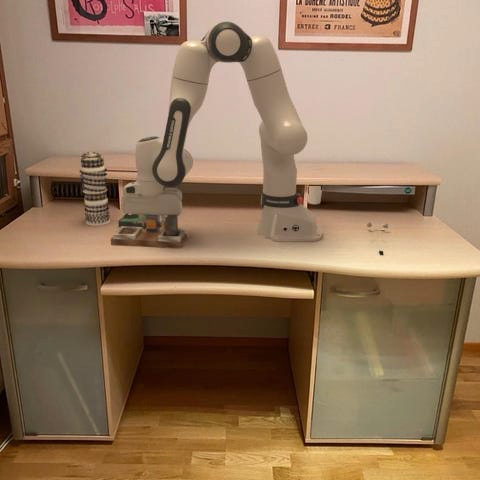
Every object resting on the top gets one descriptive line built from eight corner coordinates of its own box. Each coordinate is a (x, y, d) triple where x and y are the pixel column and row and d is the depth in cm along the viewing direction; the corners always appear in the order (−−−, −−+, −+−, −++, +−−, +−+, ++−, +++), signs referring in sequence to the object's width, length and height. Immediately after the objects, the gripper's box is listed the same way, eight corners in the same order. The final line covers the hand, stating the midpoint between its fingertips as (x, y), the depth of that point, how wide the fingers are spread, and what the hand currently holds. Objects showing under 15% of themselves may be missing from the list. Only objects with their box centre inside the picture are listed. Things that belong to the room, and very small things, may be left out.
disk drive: (130, 215, 182) (118, 228, 168) (130, 208, 181) (117, 220, 167) (157, 216, 181) (147, 229, 167) (157, 209, 180) (146, 221, 167)
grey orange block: (149, 231, 164) (147, 212, 162) (160, 232, 164) (159, 212, 161) (145, 235, 161) (144, 215, 158) (157, 236, 160) (156, 216, 158)
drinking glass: (305, 200, 203) (308, 165, 197) (321, 201, 202) (324, 166, 197) (305, 205, 196) (308, 169, 191) (322, 205, 196) (325, 169, 190)
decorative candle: (111, 225, 170) (105, 155, 161) (84, 226, 168) (76, 156, 159) (111, 217, 178) (105, 150, 169) (85, 218, 176) (78, 151, 167)
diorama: (389, 229, 171) (390, 220, 170) (397, 257, 146) (398, 247, 145) (362, 227, 172) (363, 218, 171) (366, 255, 148) (367, 244, 147)
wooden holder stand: (187, 239, 158) (186, 213, 154) (181, 248, 150) (181, 221, 147) (119, 235, 160) (117, 210, 157) (111, 244, 152) (108, 217, 149)
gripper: (184, 185, 159) (185, 225, 164) (124, 183, 161) (127, 222, 166) (179, 190, 153) (181, 231, 158) (117, 188, 155) (121, 228, 160)
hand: (153, 226), depth 162 cm, fingers closed on grey orange block, 4 cm apart
